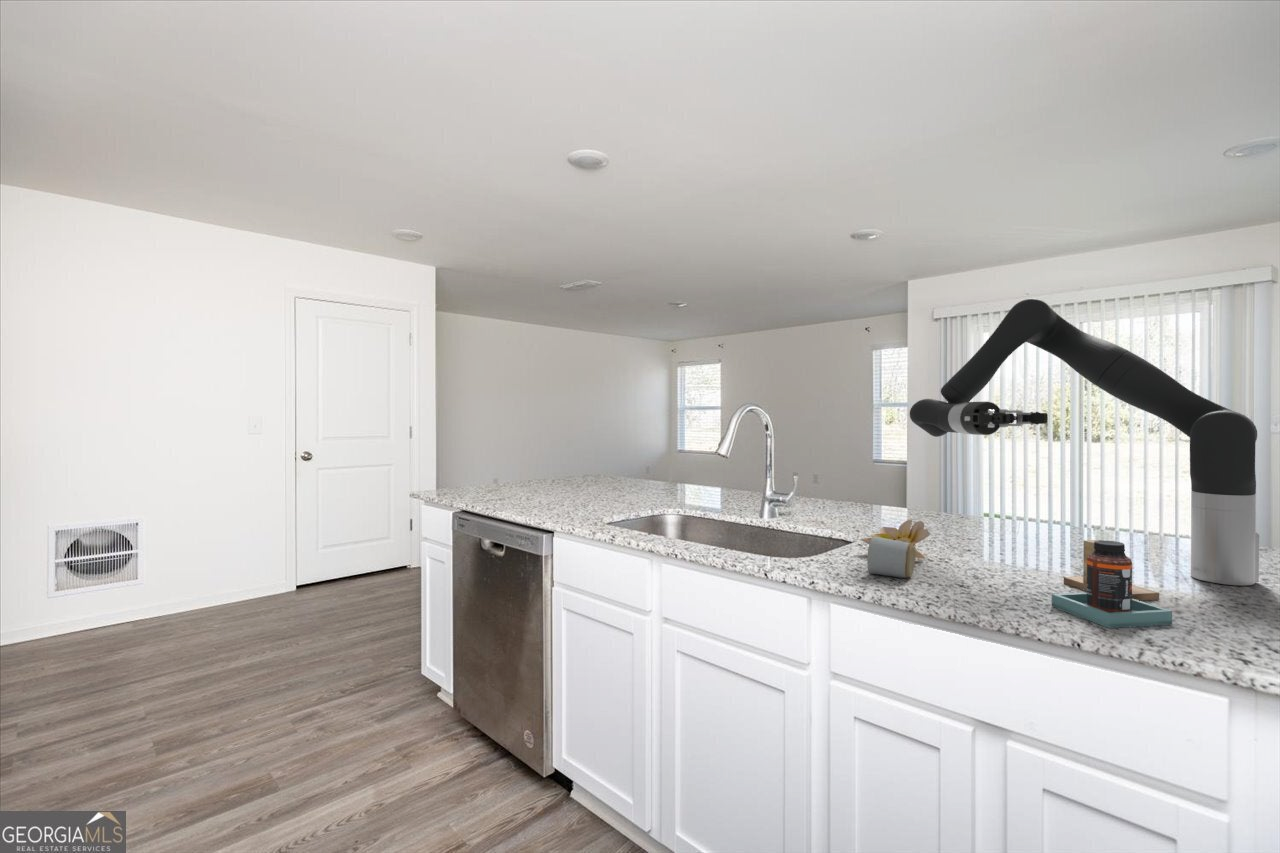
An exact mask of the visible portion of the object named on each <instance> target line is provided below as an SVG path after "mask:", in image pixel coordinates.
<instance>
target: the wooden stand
mask: <svg viewBox="0 0 1280 853" xmlns="http://www.w3.org/2000/svg"><path fill="white" fill-rule="evenodd" d="M1098 540H1099V539H1091V540H1090V539H1088V540H1086V539H1083V550H1082V551H1083V555H1082V556H1083V558H1082V560H1083V562H1082V564H1083V569H1082V571H1083V572H1082V575H1083V576H1081V575H1080V576H1079V575H1078V576H1063V584H1064V583H1065V584H1064V585H1067V584H1068V586H1070V585H1071V587H1073V586H1074V587H1073V588H1076V587H1077V589H1079V588H1080V590H1082V589H1084V590H1083V591H1085V590H1087V557H1088V555H1089V554H1091V553H1093V552H1094V551H1095V549H1094V541H1098ZM1132 598H1133V599H1136V600H1140V601H1155V600H1154V599H1159V600H1160V592H1158V591H1154V590H1151V589H1148V588H1145V587H1142V586H1141V587H1140V586H1138V585H1134V584H1132Z"/></svg>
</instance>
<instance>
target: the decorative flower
mask: <svg viewBox="0 0 1280 853" xmlns="http://www.w3.org/2000/svg"><path fill="white" fill-rule="evenodd" d="M912 524H913V525H912ZM874 536H875V537H881V538H886V539H891V540H897V541H903V542H907V543H910V544H912V545H913V546H914V549H915V559H924V558H926V556H925V555H923V554H922V553H921V552H920V551H919V550H917V548H916V547H917V544H918V543H921V542H922V541H924V540H926V539H927V538H929V536H931V533H930V531H929V530H928V529H926V528H925V523H924V521H922V520H918V521H915V523H913V520H911V519H907V520H905V521H904V522H902V523H901V524H900V526H899V527H898V528H896V527H893V526H892V527H891V526H882V527H881V528H879V533H873V534H872V535H870V537H866V538H859V539H858V540H859V541H861V542H862V543H865V544H868V545H869V543H870V541H871V539H872V537H874Z"/></svg>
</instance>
